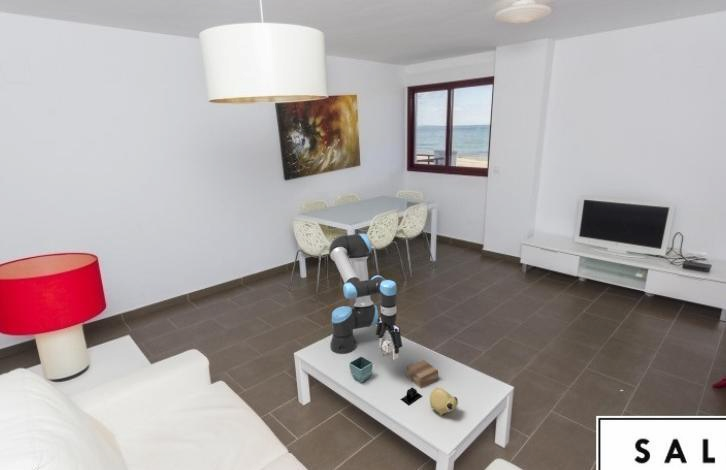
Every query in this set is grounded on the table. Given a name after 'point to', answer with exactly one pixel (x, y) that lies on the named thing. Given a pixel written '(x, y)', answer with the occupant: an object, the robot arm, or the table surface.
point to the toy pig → (442, 401)
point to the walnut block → (422, 373)
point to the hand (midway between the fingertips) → (388, 353)
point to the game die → (387, 347)
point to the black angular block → (411, 396)
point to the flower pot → (361, 368)
